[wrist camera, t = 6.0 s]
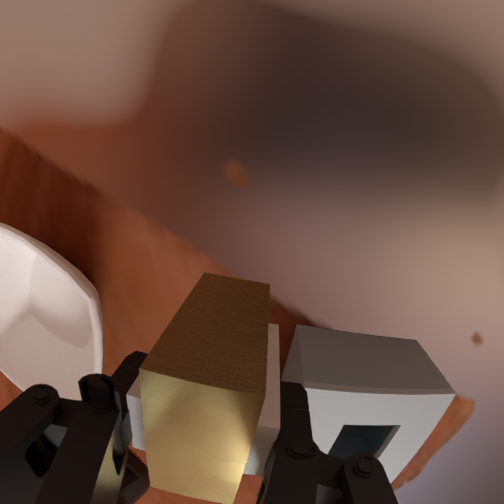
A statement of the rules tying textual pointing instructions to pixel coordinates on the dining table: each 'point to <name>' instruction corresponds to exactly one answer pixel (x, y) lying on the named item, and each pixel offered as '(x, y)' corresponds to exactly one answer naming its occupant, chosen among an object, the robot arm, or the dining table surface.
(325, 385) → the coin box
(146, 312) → the dining table surface
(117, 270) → the dining table surface
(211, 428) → the token
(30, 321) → the bowl
